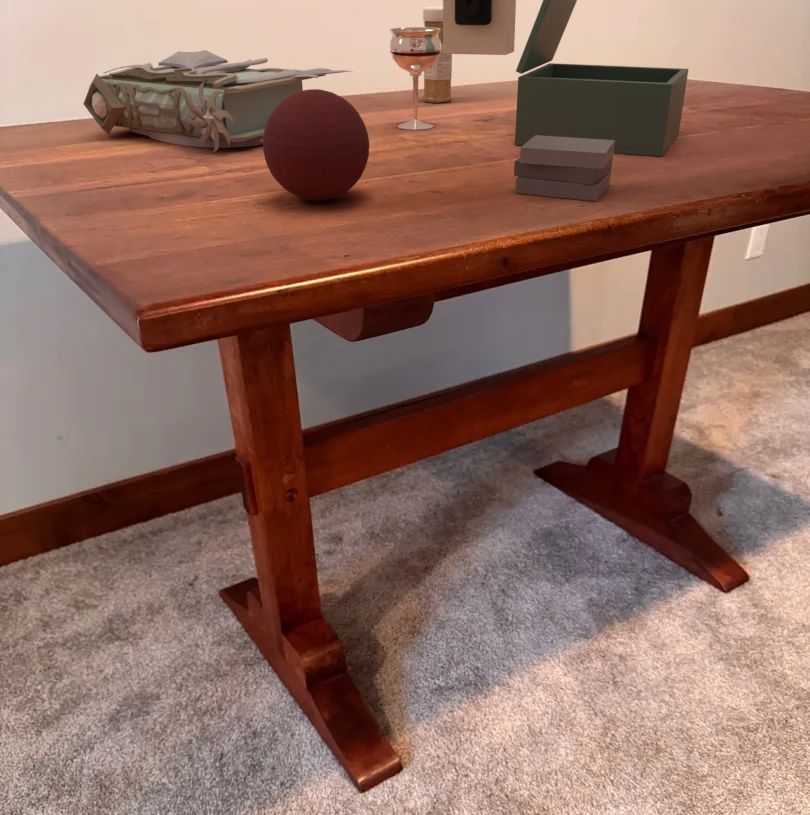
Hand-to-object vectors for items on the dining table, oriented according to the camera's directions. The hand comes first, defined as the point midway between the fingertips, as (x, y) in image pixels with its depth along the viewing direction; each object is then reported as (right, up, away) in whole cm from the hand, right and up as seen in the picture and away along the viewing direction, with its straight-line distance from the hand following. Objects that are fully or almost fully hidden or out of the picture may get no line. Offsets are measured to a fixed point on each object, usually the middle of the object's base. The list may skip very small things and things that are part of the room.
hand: (479, 21), depth 71 cm
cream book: (0, -2, +1) cm, 3 cm away
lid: (+13, +15, +23) cm, 30 cm away
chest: (+18, -1, +29) cm, 34 cm away
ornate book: (-31, +3, +36) cm, 48 cm away
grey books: (+9, -13, +9) cm, 18 cm away
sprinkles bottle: (-1, +14, +56) cm, 58 cm away
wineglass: (-5, +4, +38) cm, 39 cm away
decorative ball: (-15, -14, +7) cm, 22 cm away
